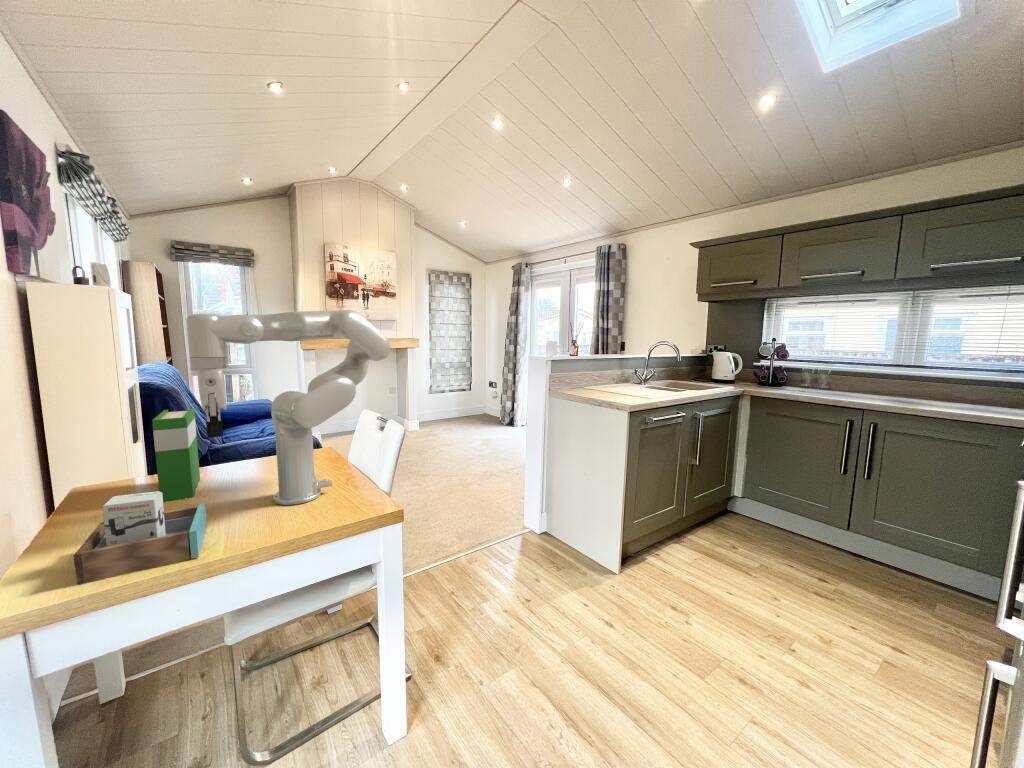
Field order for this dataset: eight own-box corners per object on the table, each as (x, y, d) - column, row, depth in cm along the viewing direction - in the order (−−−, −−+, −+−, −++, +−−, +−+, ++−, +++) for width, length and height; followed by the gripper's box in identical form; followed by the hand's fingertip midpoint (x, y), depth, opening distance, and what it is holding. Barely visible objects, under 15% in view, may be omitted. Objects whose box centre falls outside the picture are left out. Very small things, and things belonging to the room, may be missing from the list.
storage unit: (199, 529, 99) (197, 506, 98) (189, 559, 86) (187, 532, 85) (103, 548, 90) (100, 522, 89) (77, 584, 77) (73, 555, 76)
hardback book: (171, 483, 129) (164, 410, 126) (200, 479, 133) (194, 408, 130) (160, 502, 114) (152, 420, 111) (193, 497, 118) (186, 417, 115)
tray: (206, 526, 100) (204, 503, 99) (198, 557, 86) (196, 530, 85) (112, 544, 91) (109, 519, 90) (85, 582, 77) (82, 552, 76)
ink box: (106, 559, 83) (99, 505, 81) (116, 548, 87) (110, 496, 86) (160, 550, 87) (155, 497, 85) (167, 539, 91) (162, 489, 90)
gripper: (228, 365, 96) (234, 440, 98) (227, 362, 108) (232, 428, 110) (188, 367, 91) (195, 445, 94) (191, 363, 103) (197, 432, 105)
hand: (215, 436), depth 102 cm, fingers closed
